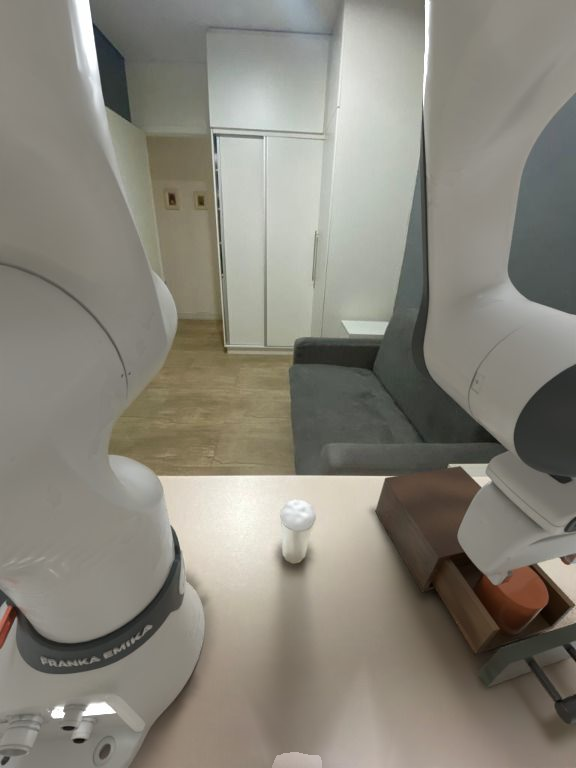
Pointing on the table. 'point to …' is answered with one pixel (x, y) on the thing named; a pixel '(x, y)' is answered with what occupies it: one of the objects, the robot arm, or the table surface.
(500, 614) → the orange cylinder puck
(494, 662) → the drawer
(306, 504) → the milkshake
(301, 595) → the table surface
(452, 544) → the cabinet
